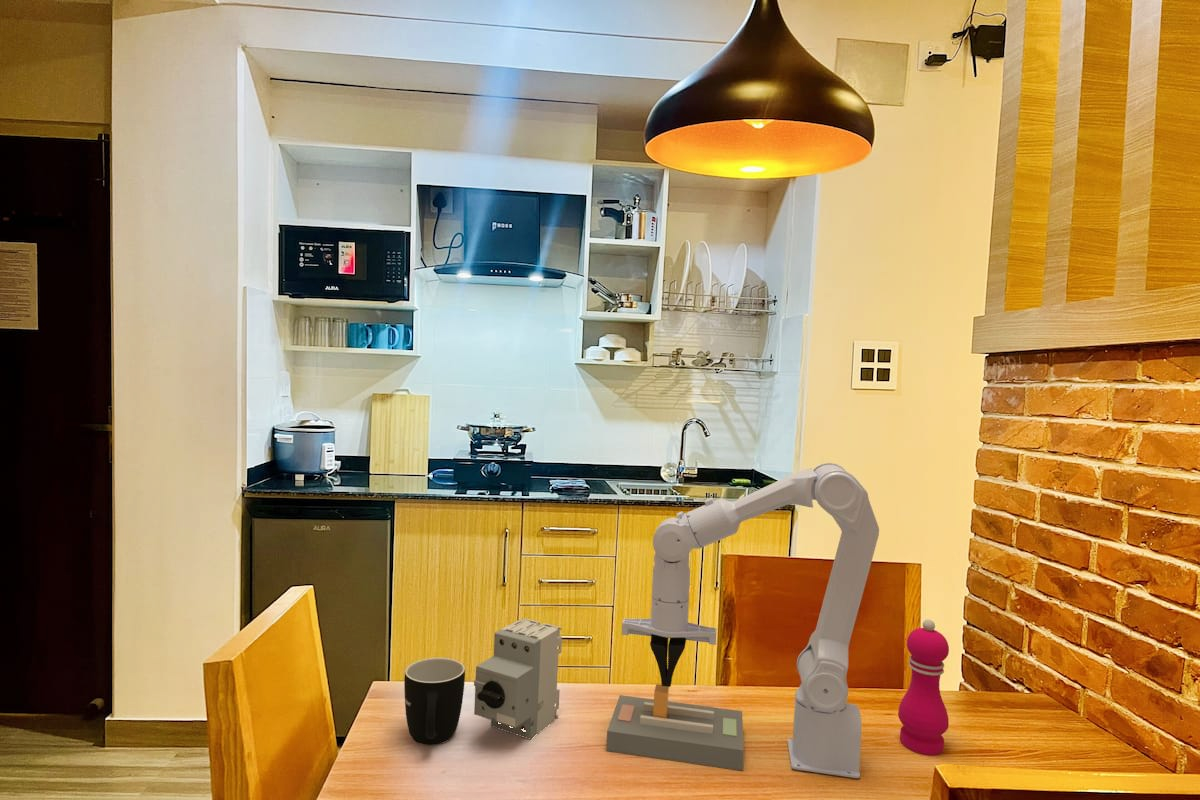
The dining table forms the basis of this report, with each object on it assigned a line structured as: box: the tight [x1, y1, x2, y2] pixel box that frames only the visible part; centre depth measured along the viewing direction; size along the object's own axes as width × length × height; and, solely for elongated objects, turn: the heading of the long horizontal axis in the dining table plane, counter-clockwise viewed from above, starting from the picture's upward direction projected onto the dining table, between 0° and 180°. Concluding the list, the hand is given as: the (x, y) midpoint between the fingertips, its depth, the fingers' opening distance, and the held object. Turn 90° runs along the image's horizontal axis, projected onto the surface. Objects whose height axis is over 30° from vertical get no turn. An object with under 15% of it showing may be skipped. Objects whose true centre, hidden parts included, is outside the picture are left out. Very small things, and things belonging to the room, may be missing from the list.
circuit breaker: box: [473, 617, 563, 740], centre depth 107 cm, size 8×14×15 cm, turn 152°
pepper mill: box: [897, 619, 950, 756], centre depth 108 cm, size 7×7×20 cm
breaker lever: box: [653, 683, 670, 719], centre depth 107 cm, size 2×3×4 cm
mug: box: [403, 657, 466, 746], centre depth 103 cm, size 12×9×10 cm
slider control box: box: [605, 694, 745, 772], centre depth 106 cm, size 20×12×4 cm, turn 79°
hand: (666, 683), depth 106 cm, fingers closed
